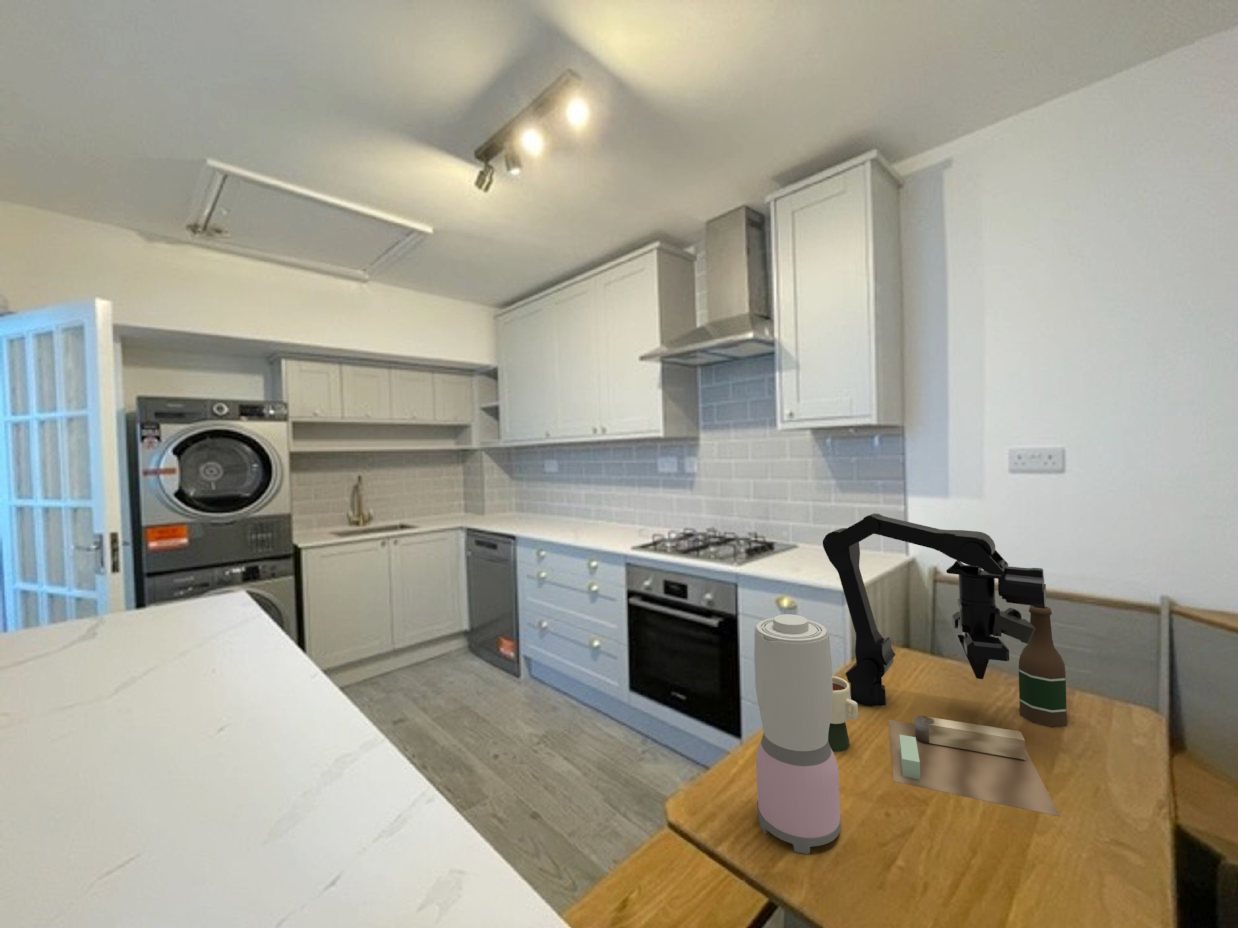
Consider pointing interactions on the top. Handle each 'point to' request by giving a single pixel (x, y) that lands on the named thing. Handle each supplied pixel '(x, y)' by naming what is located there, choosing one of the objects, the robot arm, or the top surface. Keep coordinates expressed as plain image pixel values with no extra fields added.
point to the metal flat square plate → (972, 773)
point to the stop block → (909, 757)
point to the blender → (796, 732)
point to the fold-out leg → (970, 736)
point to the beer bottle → (1042, 675)
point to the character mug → (841, 715)
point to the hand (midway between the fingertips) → (979, 678)
